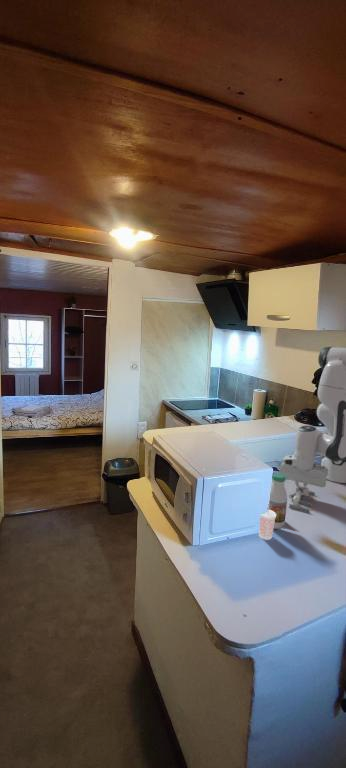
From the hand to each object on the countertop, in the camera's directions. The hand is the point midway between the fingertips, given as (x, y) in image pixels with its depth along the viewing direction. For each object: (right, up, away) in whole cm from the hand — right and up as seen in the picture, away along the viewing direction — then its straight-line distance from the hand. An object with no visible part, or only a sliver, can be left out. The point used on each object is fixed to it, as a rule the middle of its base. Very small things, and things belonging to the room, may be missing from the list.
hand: (300, 490), depth 164 cm
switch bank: (-1, -4, -6) cm, 7 cm away
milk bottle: (-19, -6, -24) cm, 31 cm away
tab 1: (-3, -2, -5) cm, 6 cm away
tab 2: (-6, -3, -10) cm, 12 cm away
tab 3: (+2, -2, -1) cm, 3 cm away
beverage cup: (-24, -7, -32) cm, 41 cm away
